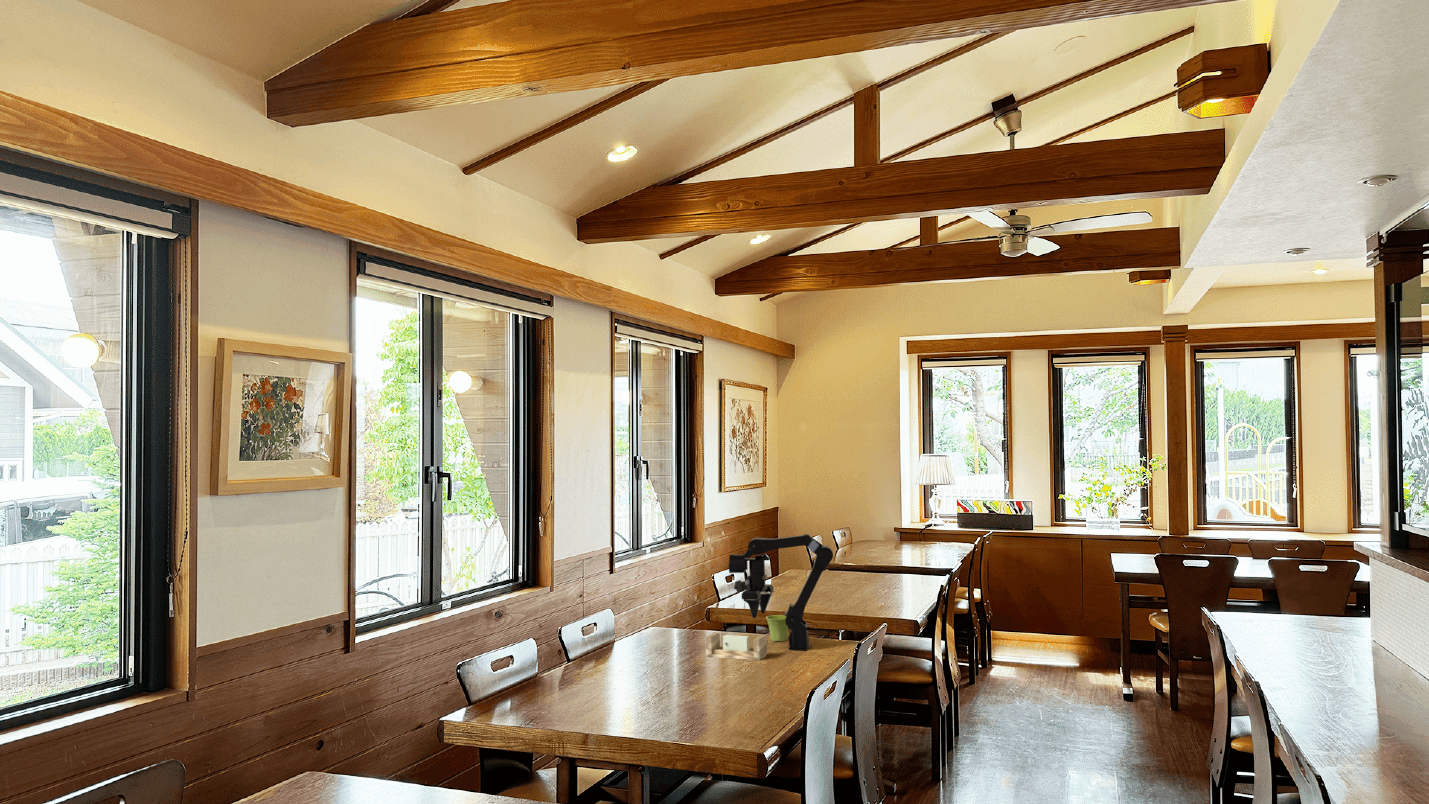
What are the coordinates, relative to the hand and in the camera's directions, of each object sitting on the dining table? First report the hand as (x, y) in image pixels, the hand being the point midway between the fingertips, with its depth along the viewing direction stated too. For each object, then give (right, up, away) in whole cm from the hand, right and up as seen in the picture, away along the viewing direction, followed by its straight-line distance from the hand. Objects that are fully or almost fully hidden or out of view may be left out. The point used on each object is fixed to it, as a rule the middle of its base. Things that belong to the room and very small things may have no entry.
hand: (758, 615), depth 330 cm
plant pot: (+8, -13, +13) cm, 20 cm away
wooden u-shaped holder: (-8, -12, -11) cm, 18 cm away
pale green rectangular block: (-8, -11, -11) cm, 18 cm away
